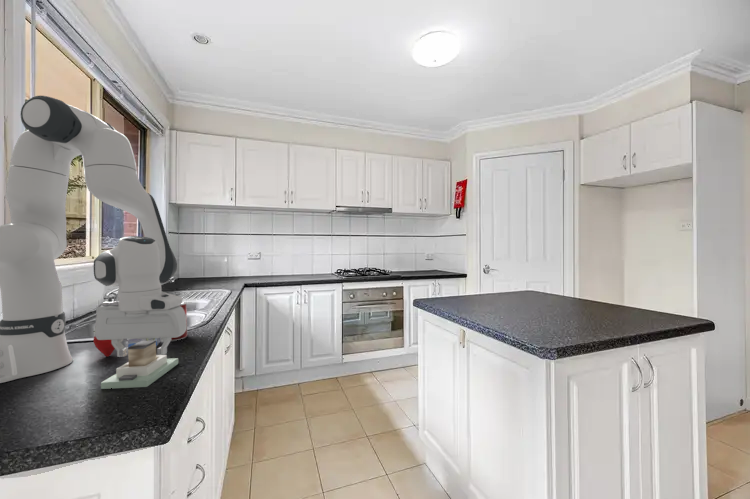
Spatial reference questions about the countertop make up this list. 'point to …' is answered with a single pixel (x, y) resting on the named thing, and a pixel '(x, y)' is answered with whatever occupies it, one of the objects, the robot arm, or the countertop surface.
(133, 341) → the medicine box
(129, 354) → the plug
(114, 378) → the socket board
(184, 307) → the soda can
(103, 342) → the strawberry
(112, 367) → the countertop surface
